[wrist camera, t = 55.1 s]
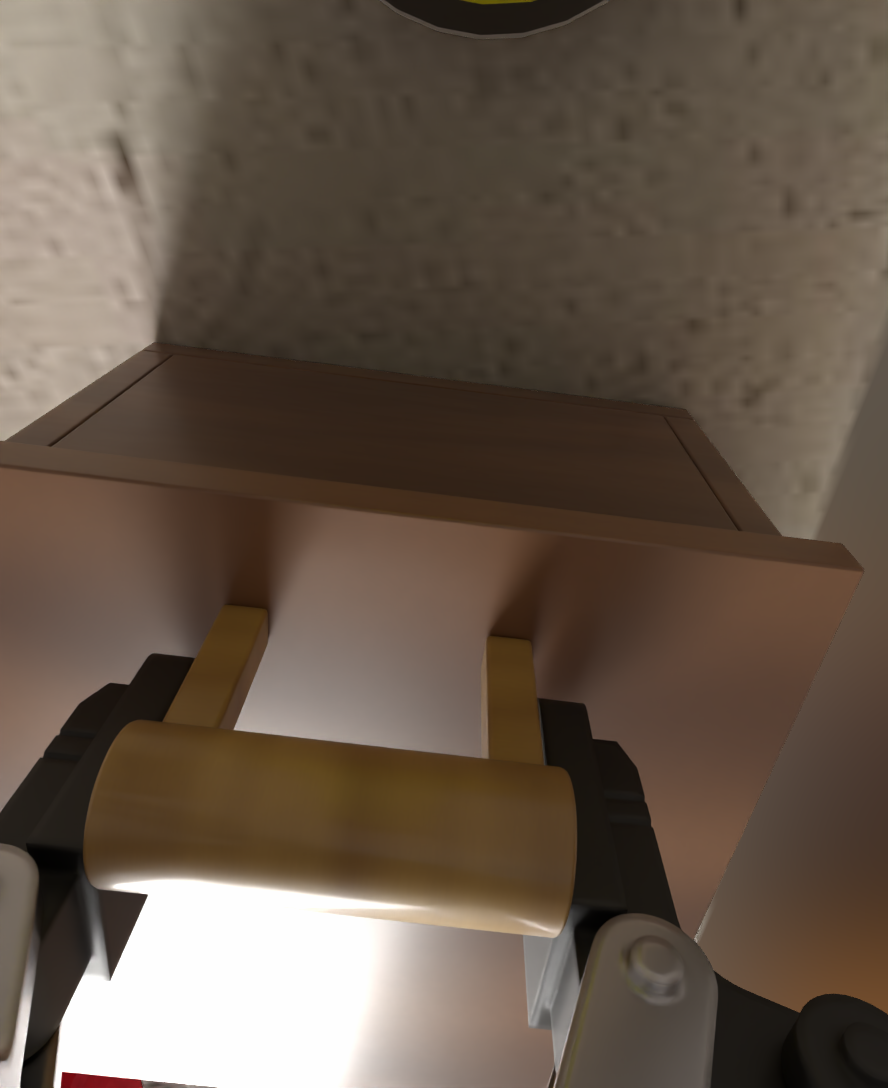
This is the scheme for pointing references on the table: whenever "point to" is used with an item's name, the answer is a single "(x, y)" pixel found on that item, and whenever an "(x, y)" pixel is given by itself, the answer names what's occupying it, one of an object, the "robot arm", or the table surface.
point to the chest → (404, 435)
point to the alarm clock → (97, 1081)
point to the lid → (376, 747)
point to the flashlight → (493, 15)
